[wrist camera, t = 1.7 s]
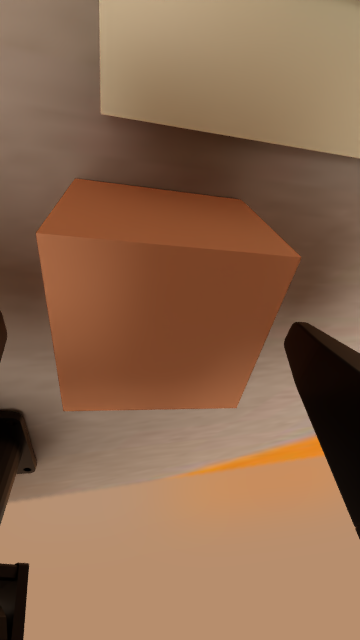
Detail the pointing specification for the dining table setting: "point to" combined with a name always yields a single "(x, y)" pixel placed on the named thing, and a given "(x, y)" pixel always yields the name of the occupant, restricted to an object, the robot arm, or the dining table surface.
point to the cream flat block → (237, 68)
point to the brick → (158, 296)
